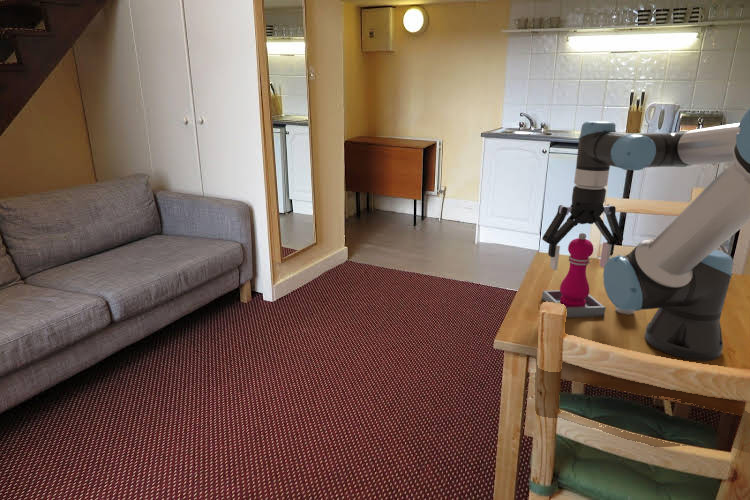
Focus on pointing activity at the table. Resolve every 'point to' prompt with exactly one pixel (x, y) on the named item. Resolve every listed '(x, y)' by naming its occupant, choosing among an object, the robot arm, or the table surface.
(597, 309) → the tray
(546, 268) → the table surface
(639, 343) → the table surface
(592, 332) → the table surface
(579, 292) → the pepper mill
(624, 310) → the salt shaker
